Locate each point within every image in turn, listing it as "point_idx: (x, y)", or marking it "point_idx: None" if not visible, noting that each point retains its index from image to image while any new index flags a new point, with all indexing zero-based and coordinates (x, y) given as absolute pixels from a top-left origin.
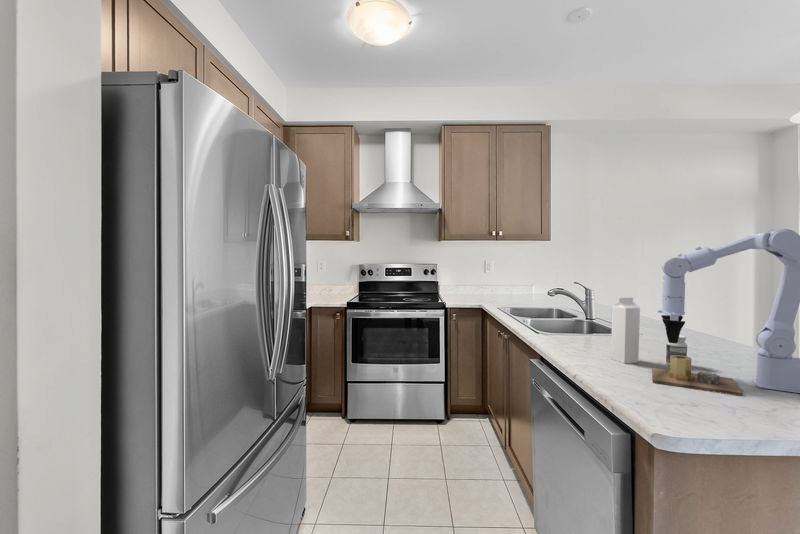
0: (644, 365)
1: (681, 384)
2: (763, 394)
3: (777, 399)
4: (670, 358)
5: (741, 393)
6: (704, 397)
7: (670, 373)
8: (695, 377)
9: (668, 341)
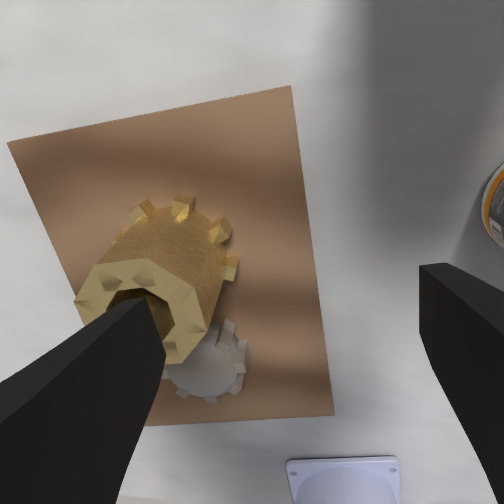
0: (409, 6)
1: (63, 264)
2: (214, 461)
3: (186, 480)
4: (121, 254)
5: None
6: (7, 331)
7: (132, 220)
8: (236, 306)
9: (116, 305)
